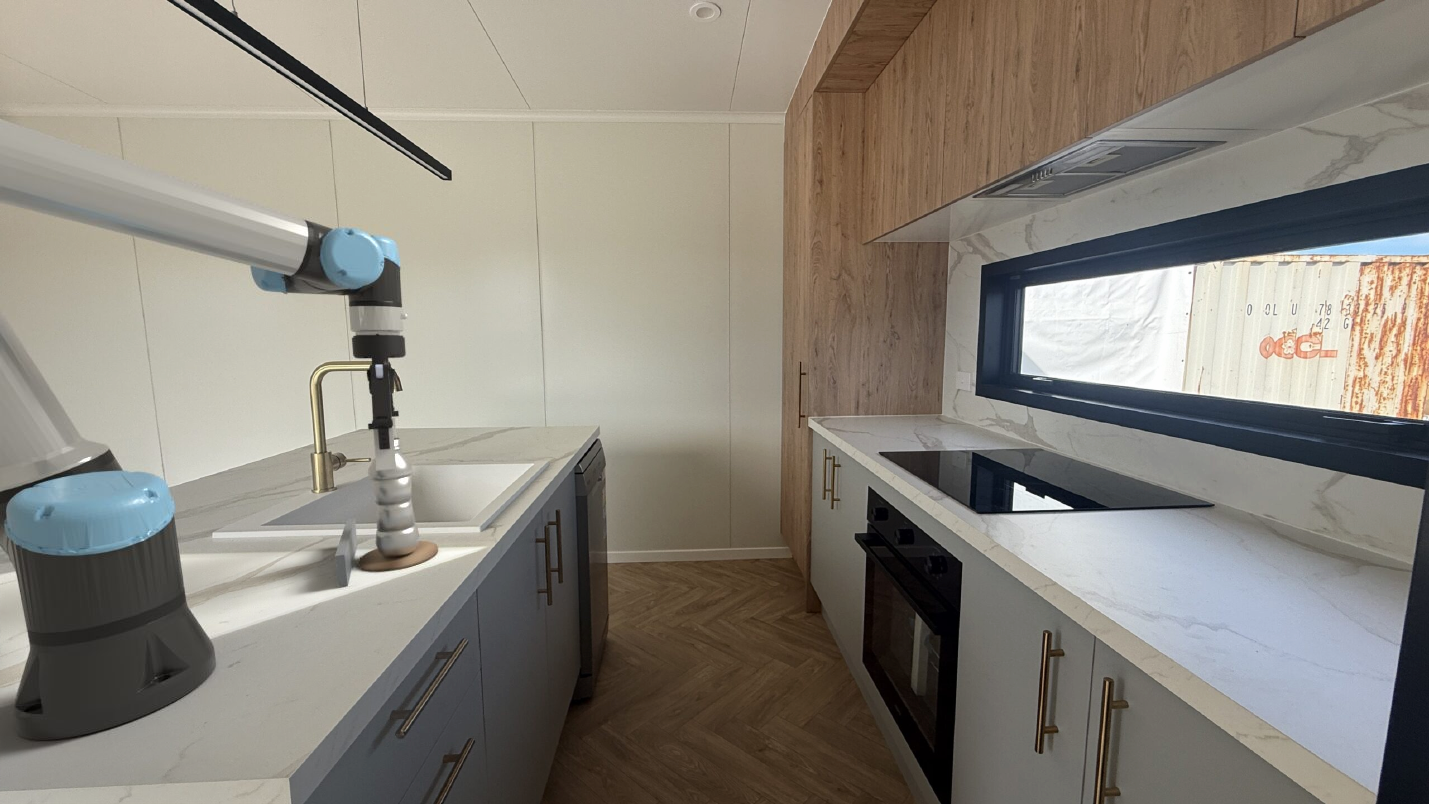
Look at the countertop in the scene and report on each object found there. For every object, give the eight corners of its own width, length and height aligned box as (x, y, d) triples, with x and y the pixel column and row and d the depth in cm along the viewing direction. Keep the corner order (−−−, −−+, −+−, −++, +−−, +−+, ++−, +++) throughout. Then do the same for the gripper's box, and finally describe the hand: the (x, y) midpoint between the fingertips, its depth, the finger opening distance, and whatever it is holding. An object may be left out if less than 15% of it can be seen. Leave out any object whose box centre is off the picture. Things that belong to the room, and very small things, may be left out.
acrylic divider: (338, 587, 88) (334, 556, 87) (349, 545, 105) (347, 519, 104) (347, 585, 88) (344, 554, 87) (357, 544, 106) (354, 518, 105)
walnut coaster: (356, 577, 91) (355, 573, 91) (361, 552, 102) (361, 549, 102) (439, 561, 97) (439, 558, 97) (436, 539, 107) (436, 536, 107)
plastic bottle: (408, 561, 96) (397, 442, 93) (368, 561, 96) (355, 443, 93) (428, 546, 102) (418, 435, 100) (390, 547, 102) (379, 436, 100)
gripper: (404, 332, 85) (413, 473, 88) (404, 334, 107) (412, 447, 109) (344, 332, 82) (355, 479, 84) (357, 334, 104) (366, 451, 106)
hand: (387, 461), depth 97 cm, fingers open, 13 cm apart
